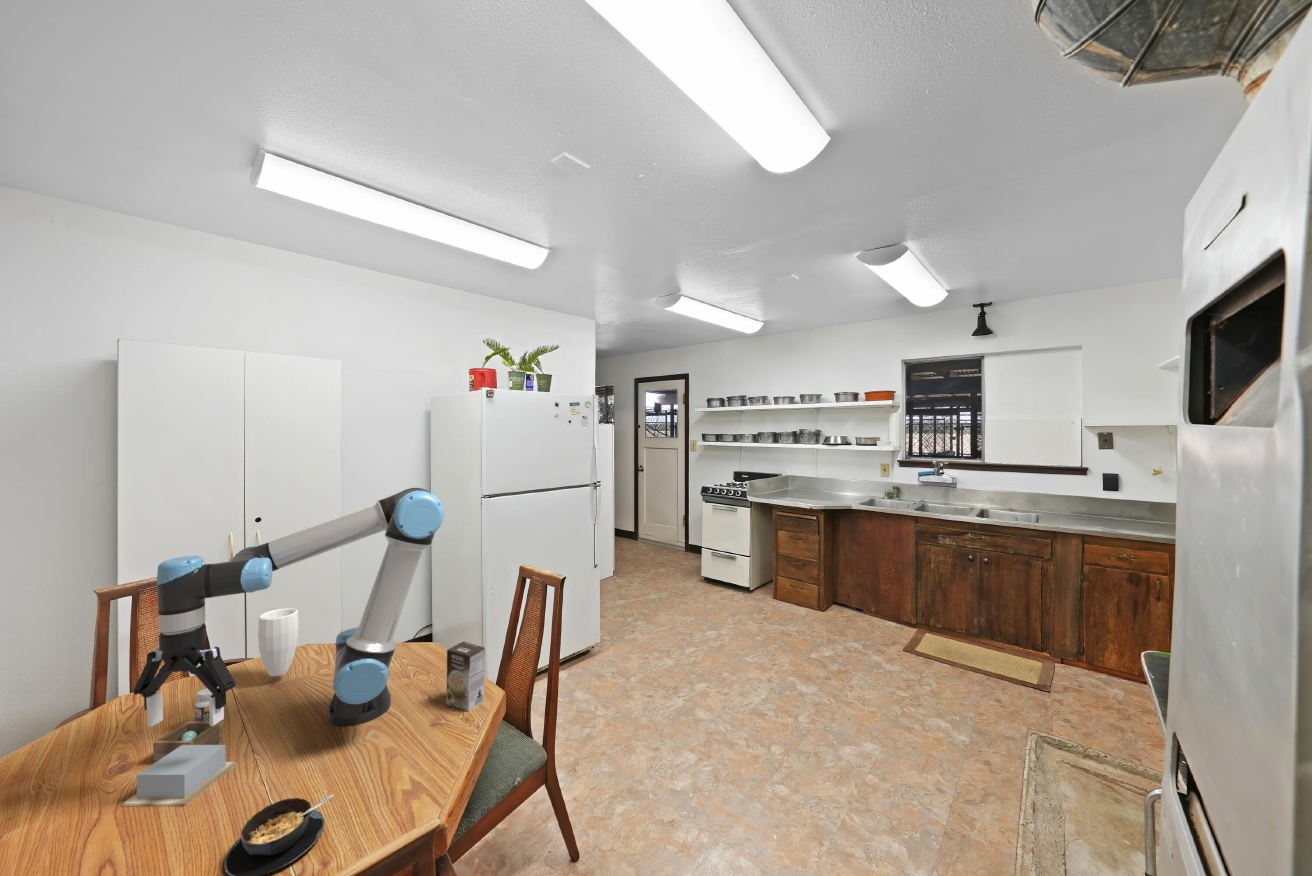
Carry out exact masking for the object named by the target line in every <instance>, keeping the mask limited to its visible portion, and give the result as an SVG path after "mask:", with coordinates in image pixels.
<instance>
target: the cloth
mask: <svg viewBox="0 0 1312 876" xmlns="http://www.w3.org/2000/svg"><path fill="white" fill-rule="evenodd" d="M237 765H238V761H226V766H225V767H224V768H223V769H221V770H220V771H219V772H218V773H216V774H215V775H214V776H212V777H211V778H210V779H209V780H207V781H206V782H205V783H203V784H202V785H201V786H200V787H198V788H197V789H196V790H194V791H193V792H192V793H191V794H189V795H188V796H187V797H186V798H137V793H135V794H134V795H132V796H130V797H129V798H127V800H125V801H124V802H122V803H121V807H186V806H187V805H188V804H189V803H191V802H192V801H193V800H195V799H196V798H197V797H199V796H200V795H201V794H202V793H204V792H205V791H206V790H207V789H209V788H210V787H211V786H212V785H213V784H214V783H213V782H215V781H216V780H217V779H218V780H219V778H220V777H221V776H222V777H223V776H225V775H226V774H227V773H229V770H230V769H231V770H232V769H233V768H235V767H236V766H237ZM231 770H230V771H231ZM224 774H225V775H224ZM222 777H221V778H222ZM221 778H220V779H221ZM218 780H217V781H218ZM217 781H216V782H217ZM216 782H215V783H216ZM212 783H213V784H212ZM211 784H212V785H211ZM210 785H211V786H210ZM209 786H210V787H209ZM205 789H206V790H205Z"/></svg>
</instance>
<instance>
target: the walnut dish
mask: <svg viewBox="0 0 1312 876" xmlns="http://www.w3.org/2000/svg"><path fill="white" fill-rule="evenodd" d="M188 731H195V732H196V733H197V736H196V737H195V738H193V739H192V740H190V741H180V738H181V736H182V735H183V734H184V733H186V732H188ZM200 733H201V734H200ZM222 741H223V724H222V722H221V721H220V722H218V723H217V724H215V725H214V726H210V721H195V720H194V721H186V722H185V723H183V724H181V725H180V726H179V727H176V728H175V729H173V730H172V731H170V732H168V733H167V734H165V735H164V736H162V737H160V738H159V739H157V740H156V741H154V742H153V747H152V748H153V749H152V750H153V757H152V758H153V763H152V764H154V763H155V762H157V761H159V760H160V759H162V758H163V757H165V756H166V755H168V754H169V753H171V752H172V751H174V750H175V749H177V748H178V747H180V746H181V745H219V744H220V743H221V742H222Z"/></svg>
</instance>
